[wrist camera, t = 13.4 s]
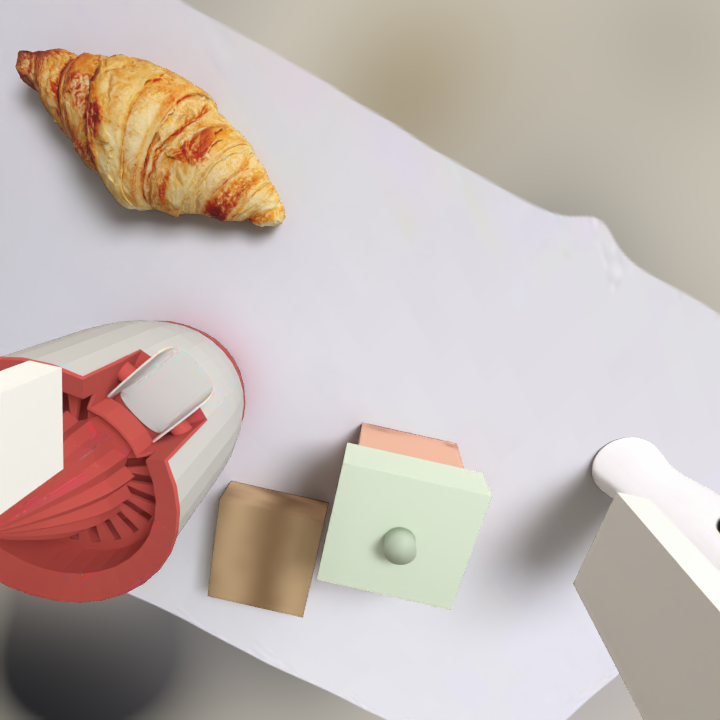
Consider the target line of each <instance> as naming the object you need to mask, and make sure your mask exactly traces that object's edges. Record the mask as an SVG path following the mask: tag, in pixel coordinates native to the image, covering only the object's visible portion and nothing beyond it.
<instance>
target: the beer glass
mask: <svg viewBox="0 0 720 720" xmlns="http://www.w3.org/2000/svg"><path fill="white" fill-rule="evenodd" d="M592 476H593V479H594V481H595V483H596V485H597V486H598V487H599V488H600V489H601V490H602V491H603V492H605V493H606V494H607V495H608V496H610V497H611V498H612V499H614V497H615V495H616V492H619V493H624V494H628V495H632V496H637V497H641V498H646V499H650V500H651V502H652V503H653V504H654V505H655V506H656V507H657V508H658V509H659V510H660V511H661V512H662V513H663V514H664V515H665V516H666V517H667V518H668V519H669V520H670V521H671V522H672V523H673V524H674V526H675V527H676V528H677V529H678V530H679V531H680V532H681V533H682V534H683V535H684V536H685V537H686V538H687V539H688V540H689V541H690V542H691V543H692V544H693V545H694V546H695V547H696V548H697V550H698V551H699V552H700V553H701V554H702V555H703V556H704V557H705V558H706V559H707V560H708V561H709V562H710V563H711V564H712V565H713V566H714V567H715V568H716V569H717V570H718V571H719V572H720V495H719V494H717V493H715V492H714V491H712V490H710V489H708V488H706V487H705V486H703V485H701V484H699V483H697V482H696V481H694V480H692V479H690V478H688V477H686V476H685V475H683V474H681V473H680V472H678V471H677V470H676V469H674V468H673V467H672V466H671V465H670V464H669V463H668V462H667V460H666V459H665V457H664V456H663V455H662V453H661V452H660V451H659V450H658V448H657V447H655V446H654V445H653V444H652V443H650V442H648V441H646V440H644V439H641V438H635V437H627V438H621V439H618V440H615V441H613V442H611V443H609V444H607V445H606V446H604V447H603V448H602V449H601V450H600V451H599V452H598V454H597V455H596V457H595V458H594V461H593V464H592Z"/></svg>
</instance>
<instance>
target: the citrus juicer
mask: <svg viewBox="0 0 720 720" xmlns="http://www.w3.org/2000/svg"><path fill="white" fill-rule="evenodd" d="M29 360H30V361H34V362H39V363H43V364H48V365H52V366H57V367H61V368H62V414H63V469H62V470H61V471H60V472H58V473H57V474H55V475H54V476H53V477H51V478H50V479H49V480H47V481H46V482H44V483H43V484H42V485H40V486H39V487H38V488H36V489H35V490H34V491H32V492H31V493H29V494H28V495H27V496H25V497H24V498H23V499H21V500H20V501H18V502H17V503H16V504H14V505H13V506H12V507H10V508H9V509H7V510H6V511H5V512H3V513H2V514H1V515H0V582H1V583H3V584H5V585H6V586H8V587H12V588H14V589H17V590H19V591H22V592H24V593H27V594H30V595H33V596H37V597H41V598H46V599H50V600H55V601H65V602H79V603H81V602H91V601H102V600H106V599H109V598H113V597H116V596H120V595H123V594H125V593H127V592H129V591H131V590H133V589H135V588H136V587H138V586H140V585H142V584H144V583H145V582H146V581H147V580H148V579H150V578H151V577H152V576H153V575H154V574H155V573H156V572H157V571H159V570H160V568H161V567H162V565H163V564H164V563H165V561H166V560H167V558H168V557H169V555H170V554H171V552H172V549H173V546H174V543H175V541H176V538H177V535H178V534H179V533H180V531H181V530H182V528H183V527H184V525H185V524H186V522H187V521H188V520H189V518H190V517H191V515H192V514H193V512H194V511H195V510H196V508H197V507H198V505H199V504H200V502H201V501H202V500H203V498H204V497H205V495H206V494H207V492H208V491H209V490H210V488H211V487H212V485H213V484H214V482H215V481H216V479H217V478H218V476H219V475H220V473H221V472H222V470H223V469H224V467H225V465H226V463H227V462H228V460H229V458H230V457H231V454H232V451H233V449H234V446H235V443H236V440H237V438H238V435H239V432H240V429H241V422H242V420H243V417H244V409H245V394H244V384H243V380H242V377H241V373H240V370H239V368H238V366H237V364H236V362H235V360H234V359H233V357H232V356H231V355H230V353H229V352H228V351H227V349H225V348H224V347H223V346H222V345H221V344H220V343H219V342H218V341H217V340H215V339H214V338H212V337H211V336H209V335H208V334H206V333H204V332H202V331H200V330H197V329H195V328H192V327H190V326H187V325H184V324H179V323H175V322H170V321H124V322H117V323H112V324H106V325H102V326H97V327H93V328H89V329H85V330H82V331H79V332H76V333H73V334H70V335H66V336H63V337H60V338H57V339H54V340H51V341H48V342H45V343H42V344H39V345H36V346H33V347H30V348H27V349H23V350H20V351H17V352H14V353H11V354H8V355H5V356H2V357H0V371H2V370H5V369H7V368H10V367H13V366H16V365H18V364H21V363H24V362H27V361H29Z"/></svg>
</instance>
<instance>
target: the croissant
mask: <svg viewBox="0 0 720 720" xmlns="http://www.w3.org/2000/svg"><path fill="white" fill-rule="evenodd" d="M16 69H17V71H18V73H19V75H20V78H21V79H22V80H23V81H24V82H25V83H26V84H27V85H29V86H30V87H32V88H33V89H34V90H36V91H37V92H39V94H40V99H41V101H42V103H43V104H44V106H45V108H46V110H47V111H48V112H49V114H50V115H51V116H52V117H53V118H54V122H55V123H57V124H58V126H59V127H60V128H61V130H62V131H63V132H64V133H65V134H66V136H67V137H68V138H70V139H71V141H72V142H73V143H74V148H75V149H76V151H77V153H78V154H79V155H80V157H81V158H82V159H83V161H84V164H85V165H86V166H88V167H89V168H90V169H92V170H93V171H95V172H97V173H98V174H99V175H100V177H101V178H102V180H103V182H104V184H105V186H106V188H107V189H108V190H109V192H110V193H111V194H112V196H113V197H114V198H115V199H116V201H117V202H118V203H119V204H120V205H121V206H123V207H125V208H127V209H136V210H139V211H145V210H151V209H157V210H159V211H161V212H165V213H167V214H169V215H172V216H176V217H178V216H179V215H180V214H183V213H187V214H194V213H195V214H203V215H205V216H209V217H213V218H216V219H218V220H221V221H232V220H235V221H244V220H245V219H248V220H249V221H250V222H251V223H253V224H255V225H256V226H260V227H263V226H278V225H280V224H281V223H282V221H283V220H284V219H285V210H284V207H283V203H281V202H280V197H279V194H278V193H277V191H276V189H275V187H274V186H273V185H272V183H271V182H270V180H269V178H268V175H267V173H266V170H265V169H264V167H263V165H262V164H261V163H260V162H259V160H258V158H257V157H256V156H255V153H254V150H253V148H252V147H251V145H250V144H249V143H248V142H247V141H246V139H245V138H244V136H243V135H242V134H241V133H240V132H239V131H237V130H235V129H234V128H233V127H232V126H231V125H230V124H229V122H228V121H227V120H226V118H225V117H224V116H222V115H221V114H219V113H218V112H217V105H216V103H215V102H214V101H213V99H212V98H211V97H210V95H209V94H207V93H206V92H205V91H203V90H202V89H201V88H199V87H197V86H194V85H193V84H192V83H191V82H189V81H188V80H186V79H184V78H183V77H181V76H179V75H177V74H175V73H174V72H172V71H170V70H168V69H165V68H162V67H160V66H157V65H155V64H153V63H151V62H149V61H146V60H142V59H138V58H133V57H128V56H125V55H123V54H120V55H113V56H111V57H107V56H102V55H92V54H89V53H83V54H81V55H79V56H77V55H76V54H74V53H71V52H68V51H66V50H64V49H59V48H58V49H52V50H47V51H36V52H30V51H24V50H23V51H19V52H18V58H17V63H16Z"/></svg>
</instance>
